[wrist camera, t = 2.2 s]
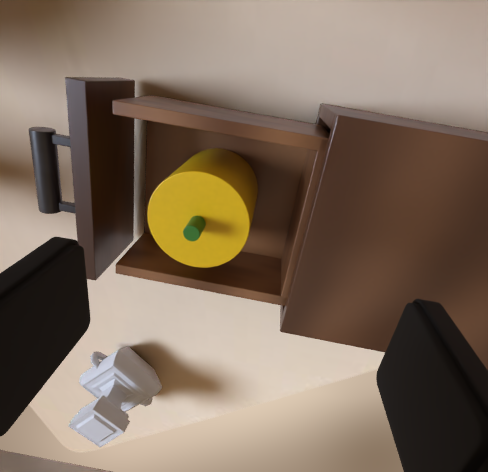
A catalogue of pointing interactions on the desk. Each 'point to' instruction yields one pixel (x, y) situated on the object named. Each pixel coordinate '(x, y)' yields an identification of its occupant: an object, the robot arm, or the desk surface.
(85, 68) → the desk surface
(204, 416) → the desk surface
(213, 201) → the pepper
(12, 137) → the desk surface
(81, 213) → the drawer
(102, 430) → the stamp
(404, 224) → the cabinet
